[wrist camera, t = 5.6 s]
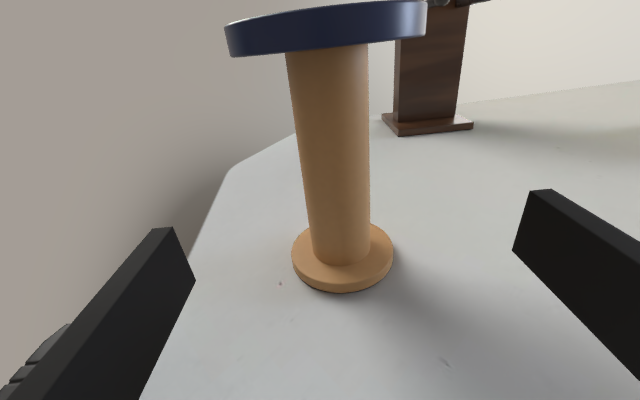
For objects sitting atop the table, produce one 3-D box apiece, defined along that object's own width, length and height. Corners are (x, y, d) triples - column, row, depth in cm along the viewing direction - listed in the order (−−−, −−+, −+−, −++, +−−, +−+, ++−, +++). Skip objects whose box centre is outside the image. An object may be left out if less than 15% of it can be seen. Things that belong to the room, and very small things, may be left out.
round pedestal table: (251, 280, 18) (177, 30, 12) (316, 211, 25) (294, 27, 18) (385, 330, 14) (394, -10, 7) (420, 232, 21) (442, 6, 14)
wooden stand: (498, 141, 36) (535, -27, 27) (411, 151, 36) (422, -14, 28) (442, 112, 51) (455, -2, 42) (381, 119, 51) (382, 6, 43)
